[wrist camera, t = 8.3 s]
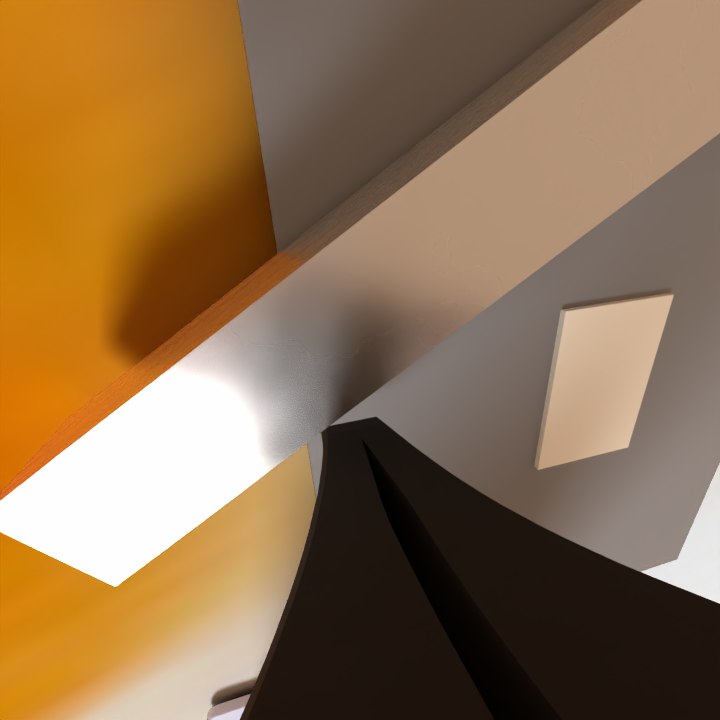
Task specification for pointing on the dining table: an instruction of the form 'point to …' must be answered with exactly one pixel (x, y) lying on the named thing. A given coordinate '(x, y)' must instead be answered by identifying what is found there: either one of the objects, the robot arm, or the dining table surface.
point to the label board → (530, 297)
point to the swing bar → (375, 284)
